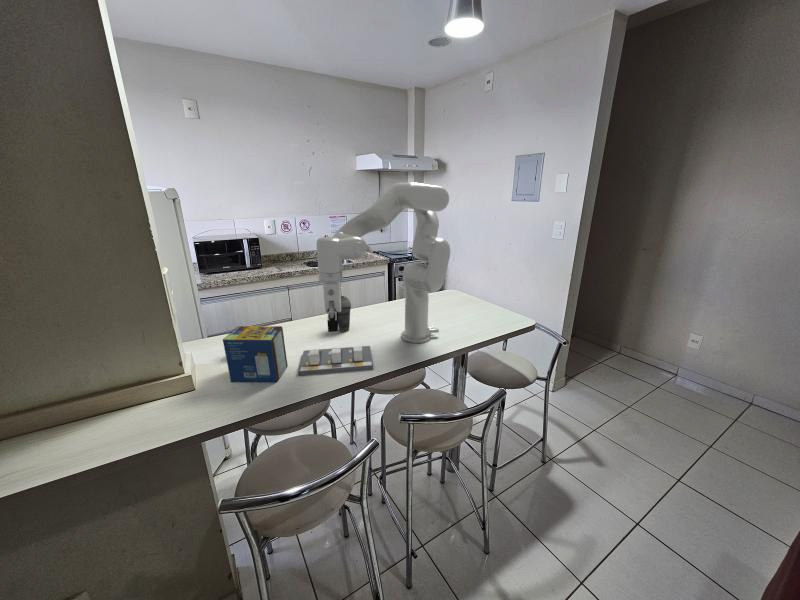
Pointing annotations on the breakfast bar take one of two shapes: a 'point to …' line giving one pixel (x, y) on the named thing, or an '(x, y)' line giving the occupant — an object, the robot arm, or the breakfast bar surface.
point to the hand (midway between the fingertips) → (333, 325)
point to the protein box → (255, 354)
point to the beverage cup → (344, 315)
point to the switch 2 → (358, 354)
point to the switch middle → (336, 355)
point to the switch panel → (329, 367)
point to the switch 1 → (314, 357)
